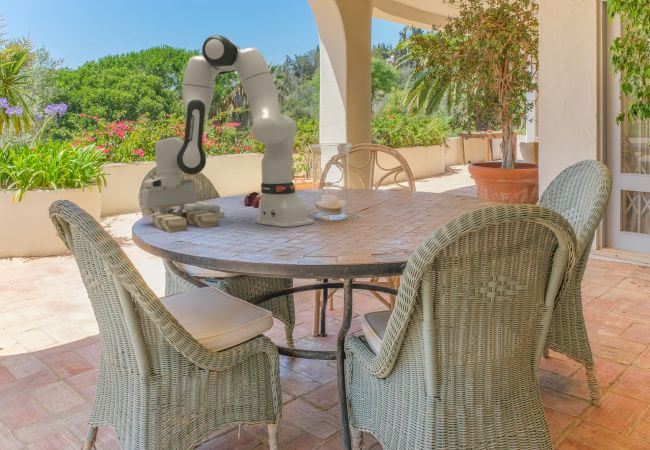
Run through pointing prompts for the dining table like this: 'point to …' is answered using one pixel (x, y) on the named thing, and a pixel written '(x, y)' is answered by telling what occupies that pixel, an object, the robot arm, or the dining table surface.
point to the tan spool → (185, 220)
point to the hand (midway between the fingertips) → (171, 217)
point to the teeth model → (252, 199)
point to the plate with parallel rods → (204, 208)
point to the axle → (174, 212)
